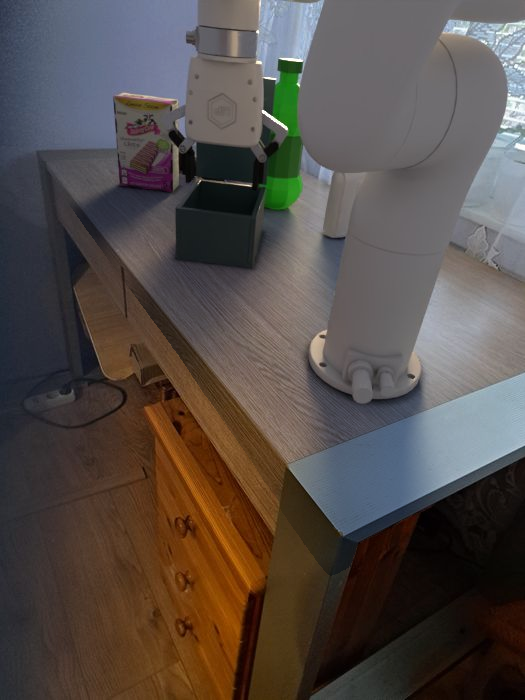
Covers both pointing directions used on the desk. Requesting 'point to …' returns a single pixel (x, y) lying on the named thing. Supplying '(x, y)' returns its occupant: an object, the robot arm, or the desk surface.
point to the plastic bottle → (285, 140)
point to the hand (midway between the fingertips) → (222, 184)
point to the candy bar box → (145, 142)
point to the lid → (235, 151)
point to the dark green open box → (220, 223)
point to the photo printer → (341, 202)
